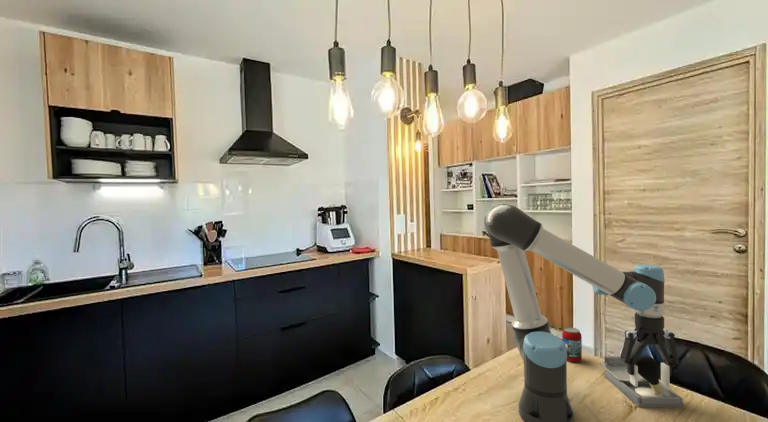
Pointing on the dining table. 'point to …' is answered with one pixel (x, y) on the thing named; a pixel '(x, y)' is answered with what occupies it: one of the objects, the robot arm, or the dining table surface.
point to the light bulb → (650, 372)
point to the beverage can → (572, 344)
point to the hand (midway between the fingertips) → (649, 384)
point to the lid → (618, 369)
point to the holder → (646, 394)
